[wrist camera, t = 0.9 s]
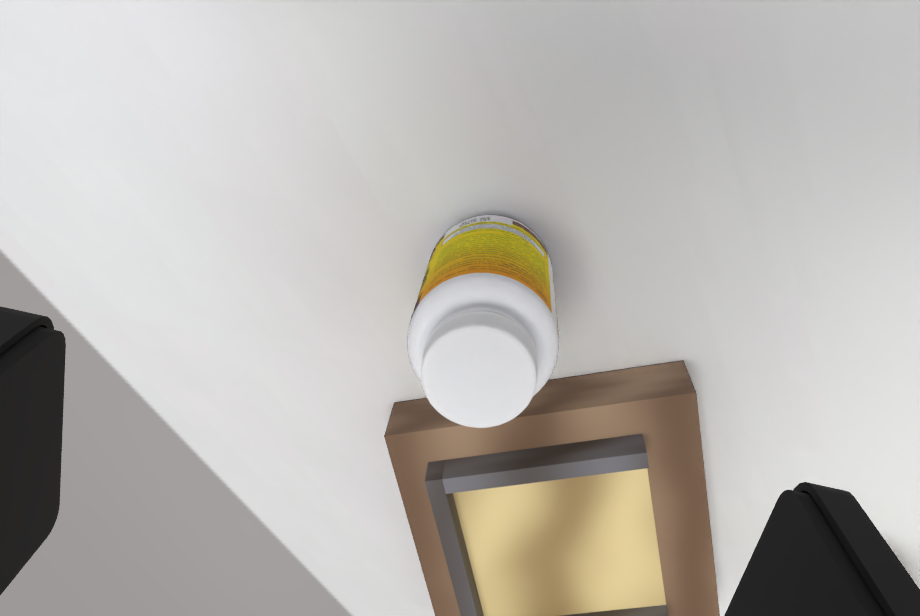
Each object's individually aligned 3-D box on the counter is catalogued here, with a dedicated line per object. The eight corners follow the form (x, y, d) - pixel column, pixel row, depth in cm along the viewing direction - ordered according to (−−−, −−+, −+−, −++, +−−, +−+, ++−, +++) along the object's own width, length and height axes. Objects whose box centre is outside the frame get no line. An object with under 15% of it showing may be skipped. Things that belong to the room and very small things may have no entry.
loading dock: (683, 360, 37) (703, 410, 33) (708, 591, 42) (728, 658, 38) (394, 402, 39) (378, 454, 35) (453, 617, 44) (445, 684, 40)
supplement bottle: (417, 222, 35) (378, 316, 26) (541, 200, 34) (547, 289, 25) (443, 334, 37) (416, 458, 28) (561, 316, 37) (573, 437, 27)
